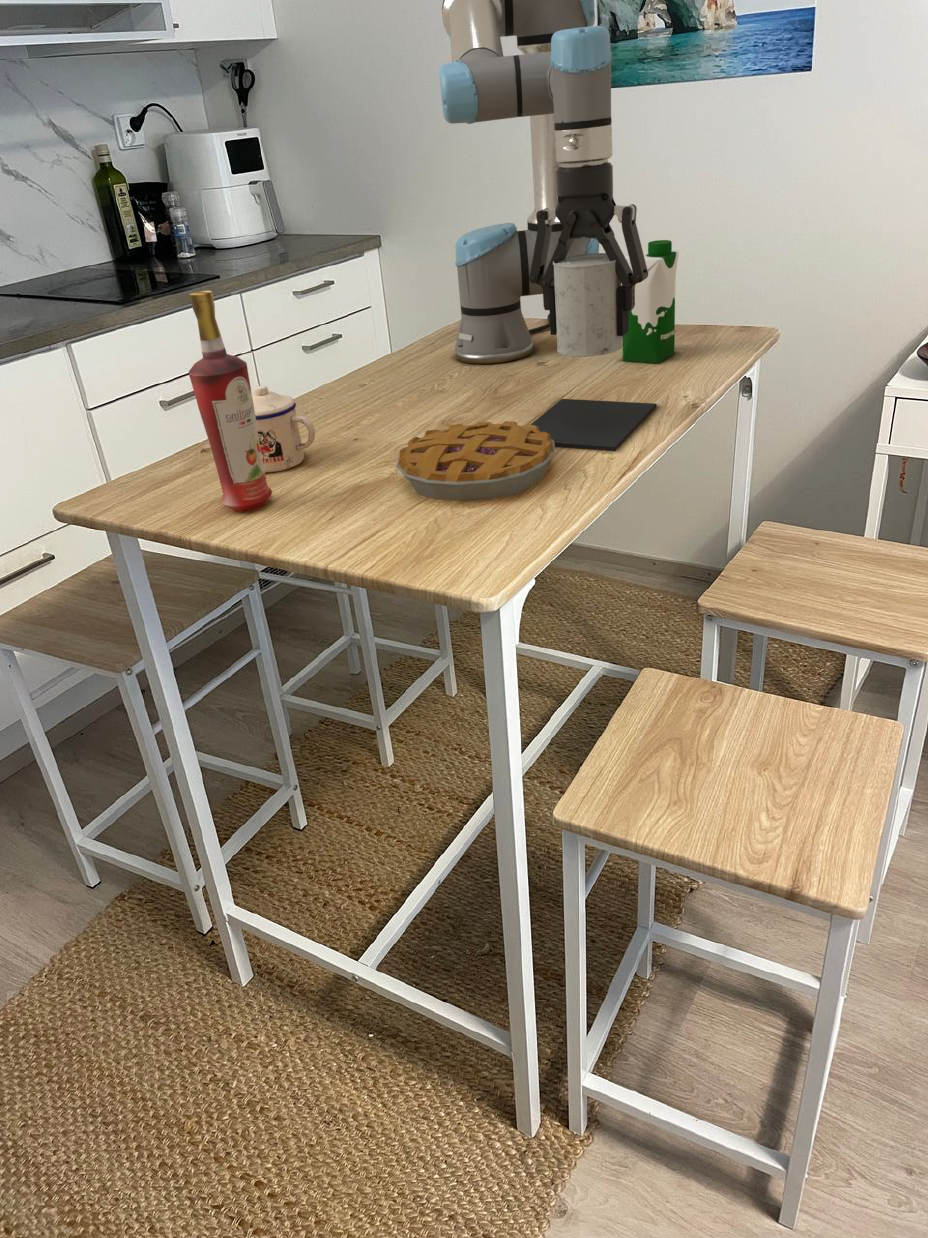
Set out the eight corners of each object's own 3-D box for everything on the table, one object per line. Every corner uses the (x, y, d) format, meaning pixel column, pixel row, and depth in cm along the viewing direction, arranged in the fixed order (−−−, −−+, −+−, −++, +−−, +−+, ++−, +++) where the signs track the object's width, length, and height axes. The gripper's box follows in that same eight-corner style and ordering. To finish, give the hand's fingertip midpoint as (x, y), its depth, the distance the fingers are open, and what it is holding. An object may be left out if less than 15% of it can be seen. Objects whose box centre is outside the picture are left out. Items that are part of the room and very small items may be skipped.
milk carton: (660, 365, 168) (661, 246, 158) (615, 361, 173) (613, 246, 163) (681, 352, 174) (683, 237, 164) (637, 349, 179) (636, 237, 169)
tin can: (620, 354, 132) (619, 263, 126) (553, 357, 135) (548, 267, 129) (624, 338, 141) (623, 250, 134) (560, 341, 143) (556, 255, 137)
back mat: (561, 402, 155) (561, 398, 155) (656, 407, 148) (656, 403, 148) (512, 443, 140) (511, 439, 140) (615, 451, 133) (615, 447, 133)
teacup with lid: (234, 473, 140) (217, 396, 134) (264, 451, 148) (249, 377, 142) (306, 475, 136) (291, 396, 131) (333, 453, 144) (320, 377, 138)
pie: (379, 506, 123) (373, 470, 121) (422, 448, 142) (418, 416, 139) (544, 506, 118) (541, 469, 116) (567, 446, 136) (565, 412, 134)
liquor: (252, 491, 133) (206, 285, 119) (286, 500, 129) (243, 287, 115) (211, 509, 128) (158, 297, 115) (244, 519, 124) (193, 301, 110)
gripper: (497, 171, 128) (509, 338, 139) (657, 160, 118) (656, 341, 129) (519, 164, 133) (529, 325, 144) (673, 154, 124) (671, 327, 135)
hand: (589, 333), depth 137 cm, fingers closed on tin can, 9 cm apart
